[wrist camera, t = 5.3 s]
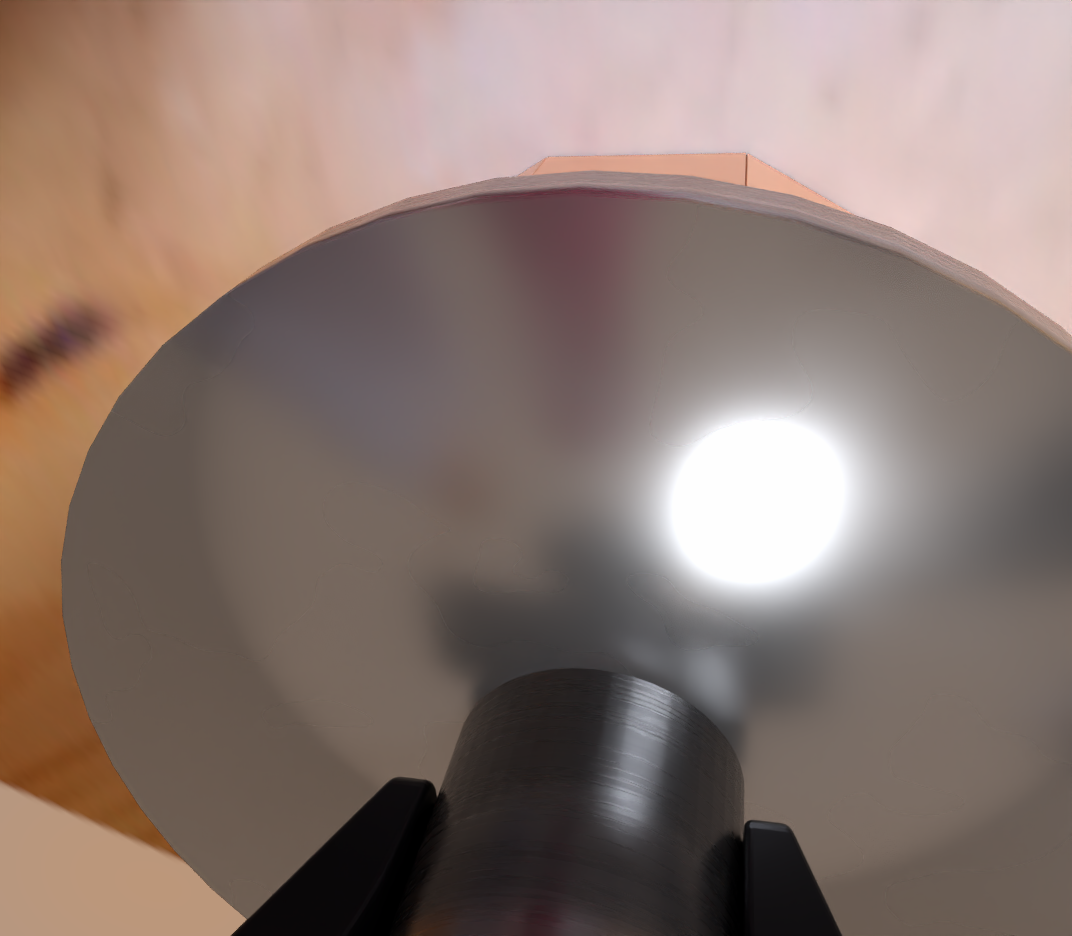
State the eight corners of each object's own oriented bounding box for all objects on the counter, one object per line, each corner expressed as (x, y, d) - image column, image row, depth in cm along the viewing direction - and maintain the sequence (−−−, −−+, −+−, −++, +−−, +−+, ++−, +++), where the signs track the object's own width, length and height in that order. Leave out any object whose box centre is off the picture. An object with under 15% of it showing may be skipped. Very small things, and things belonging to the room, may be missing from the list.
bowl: (1048, 147, 11) (1174, 248, 8) (928, 728, 16) (973, 943, 13) (299, 162, 13) (146, 249, 10) (394, 677, 18) (314, 851, 15)
